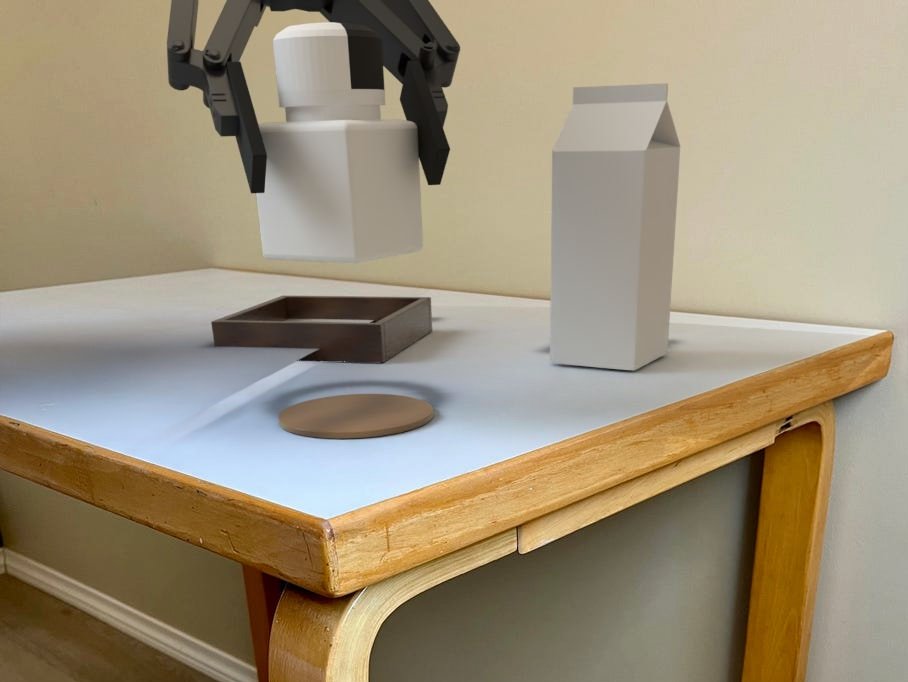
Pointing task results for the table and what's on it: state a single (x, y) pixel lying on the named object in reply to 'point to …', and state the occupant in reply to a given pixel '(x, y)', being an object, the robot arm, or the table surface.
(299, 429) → the cork coaster
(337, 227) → the medicine bottle
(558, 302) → the milk carton
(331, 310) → the walnut frame box
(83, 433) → the table surface
